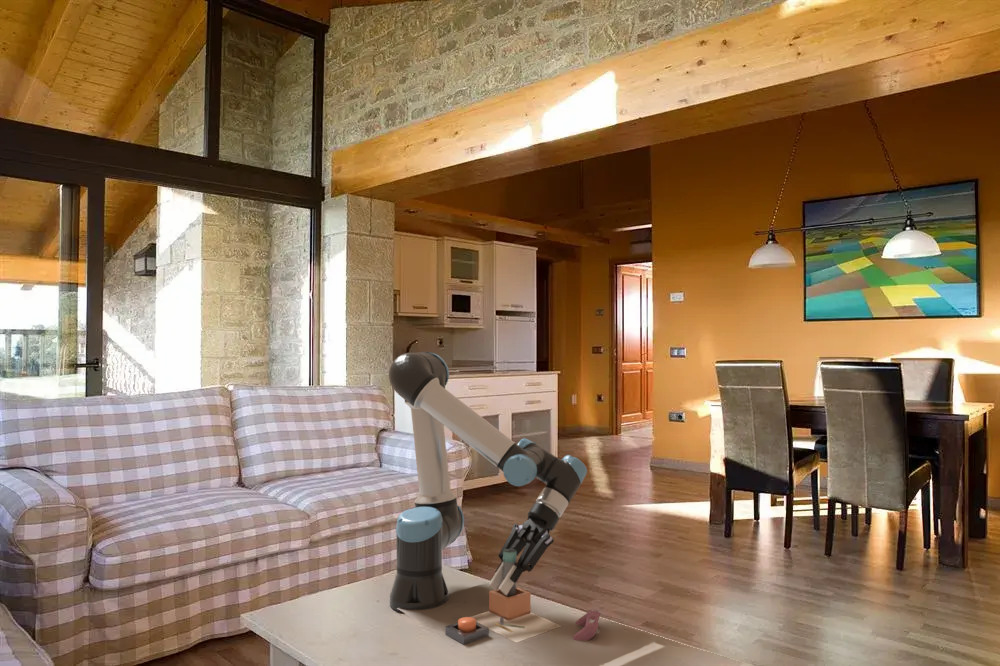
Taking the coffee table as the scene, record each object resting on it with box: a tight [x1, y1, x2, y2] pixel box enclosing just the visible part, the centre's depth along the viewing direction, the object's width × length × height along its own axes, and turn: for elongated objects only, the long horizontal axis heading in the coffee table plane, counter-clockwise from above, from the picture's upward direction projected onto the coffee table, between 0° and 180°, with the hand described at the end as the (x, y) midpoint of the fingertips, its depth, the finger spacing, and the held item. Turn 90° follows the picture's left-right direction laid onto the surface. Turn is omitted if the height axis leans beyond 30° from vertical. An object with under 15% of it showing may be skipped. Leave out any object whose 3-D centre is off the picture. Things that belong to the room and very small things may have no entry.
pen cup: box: [488, 586, 532, 621], centre depth 172 cm, size 7×7×5 cm
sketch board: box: [470, 610, 562, 644], centre depth 166 cm, size 20×16×1 cm
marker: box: [503, 549, 518, 597], centre depth 172 cm, size 3×3×12 cm
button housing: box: [445, 622, 490, 646], centre depth 159 cm, size 7×7×3 cm
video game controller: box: [572, 608, 601, 642], centre depth 161 cm, size 10×5×7 cm, turn 169°
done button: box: [457, 616, 476, 633], centre depth 159 cm, size 4×4×2 cm
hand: (497, 589), depth 170 cm, fingers closed on marker, 3 cm apart
